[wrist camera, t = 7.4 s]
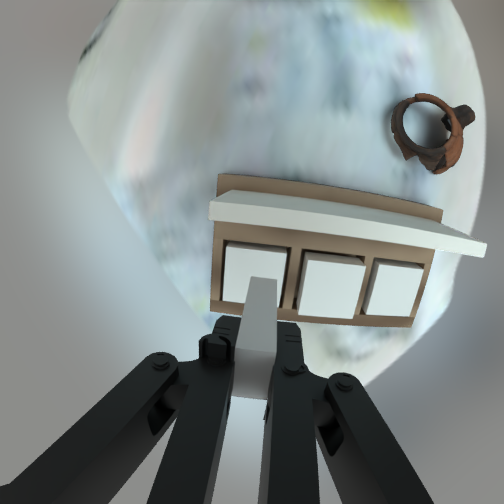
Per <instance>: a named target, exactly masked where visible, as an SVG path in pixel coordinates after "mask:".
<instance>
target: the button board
mask: <svg viewBox="0 0 504 504" xmlns="http://www.w3.org/2000/svg"><path fill="white" fill-rule="evenodd" d="M230 190H242V191H252V192H262V193H271V194H279V195H288V196H295V197H303V198H311V199H318V200H325V201H332V202H338V203H344V204H351V205H357V206H363V207H369V208H374V209H380V210H385V211H391V212H396V213H401V214H406V215H411V216H416V217H421V218H425V219H430V220H433V221H436V222H438V223H441V220H442V215H443V210H442V209H439V208H435V207H432V206H429V205H425V204H421V203H417V202H412V201H408V200H403V199H399V198H394V197H389V196H384V195H379V194H374V193H369V192H363V191H358V190H352V189H346V188H340V187H334V186H328V185H321V184H314V183H307V182H300V181H292V180H284V179H276V178H267V177H257V176H247V175H236V174H218V182H217V195H216V197H218V196H220V195H222V194H224V193H226V192H228V191H230ZM230 240H234V241H243V242H251V243H260V244H269V245H278V246H286V252H287V256H286V263H285V270H284V276H283V283H282V290H281V296H280V302H279V307H277V320H287V321H297V322H309V323H321V324H336V325H352V326H373V327H411V326H412V324H413V321H414V318H415V316H416V313H417V310H418V307H419V304H420V301H421V298H422V295H423V292H424V289H425V285H426V282H427V279H428V275H429V272H430V268H431V264H432V261H433V257H434V253H435V249H430V248H424V247H417V246H411V245H405V244H398V243H391V242H385V241H378V240H371V239H364V238H357V237H350V236H342V235H335V234H327V233H319V232H312V231H304V230H295V229H287V228H279V227H270V226H261V225H252V224H243V223H234V222H224V221H215V222H214V237H213V254H212V273H211V296H210V311H212V312H219V313H226V314H234V315H242V314H243V310H244V305H245V303H237V302H230V301H223V288H224V272H225V258H226V246H227V245H228V243H229V241H230ZM305 252H313V253H321V254H330V255H338V256H347V257H355V258H359V259H360V260H361V261H362V262H363V264H364V265H365V266H366V269H365V273H364V277H363V282H362V286H361V290H360V293H359V297H358V301H357V305H356V308H355V312H354V315H353V319H345V318H331V317H318V316H306V315H298V311H297V304H296V301H297V296H298V290H299V285H300V279H301V273H302V267H303V261H304V255H305ZM374 257H377V258H385V259H393V260H401V261H409V262H414V263H416V264H417V265H418V266H420V267H421V268H422V269H424V271H423V275H422V278H421V282H420V285H419V288H418V292H417V295H416V298H415V301H414V304H413V307H412V310H411V313H410V316H409V317H408V316H384V315H366V314H365V312H364V310H363V309H362V307H361V306H362V303H363V299H364V295H365V292H366V288H367V284H368V280H369V276H370V272H371V267H372V263H373V259H374Z"/></svg>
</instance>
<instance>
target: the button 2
mask: <svg viewBox="0 0 504 504" xmlns="http://www.w3.org/2000/svg"><path fill="white" fill-rule="evenodd" d="M423 271H424V269H422V268H421V267H420V266H418V265H417V264H416V263H414V262H409V261H401V260H393V259H385V258H377V257H374V259H373V263H372V267H371V272H370V276H369V280H368V284H367V288H366V292H365V295H364V299H363V303H362V306H361V307H362V309H363V310H364V312H365V314H366V315H384V316H408V317H409V316H410V313H411V310H412V307H413V304H414V301H415V298H416V295H417V292H418V288H419V285H420V282H421V278H422V275H423Z"/></svg>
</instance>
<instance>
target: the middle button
mask: <svg viewBox="0 0 504 504" xmlns="http://www.w3.org/2000/svg"><path fill="white" fill-rule="evenodd" d="M365 269H366V266H365V265H364V264H363V262H362V261H361V260H360V259H359V258H355V257H347V256H338V255H330V254H321V253H313V252H305V255H304V261H303V267H302V273H301V279H300V285H299V290H298V296H297V301H296V304H297V311H298V315H306V316H318V317H331V318H345V319H353V315H354V312H355V308H356V305H357V301H358V297H359V293H360V290H361V286H362V282H363V277H364V273H365Z"/></svg>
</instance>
